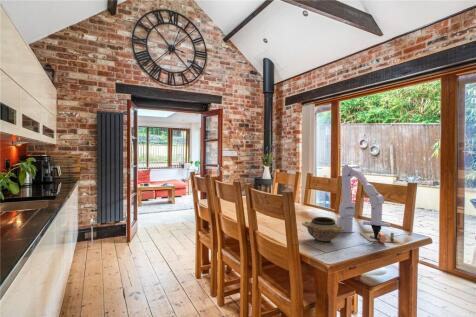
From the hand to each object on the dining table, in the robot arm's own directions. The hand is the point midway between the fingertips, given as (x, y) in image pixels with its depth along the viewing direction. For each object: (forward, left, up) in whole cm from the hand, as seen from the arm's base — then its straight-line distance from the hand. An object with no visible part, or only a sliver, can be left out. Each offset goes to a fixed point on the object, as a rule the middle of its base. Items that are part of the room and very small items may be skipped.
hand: (375, 237), depth 162 cm
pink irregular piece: (+3, +3, -1) cm, 5 cm away
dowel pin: (+10, +2, -2) cm, 11 cm away
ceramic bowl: (-32, -4, -2) cm, 32 cm away
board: (+4, +6, -2) cm, 7 cm away
